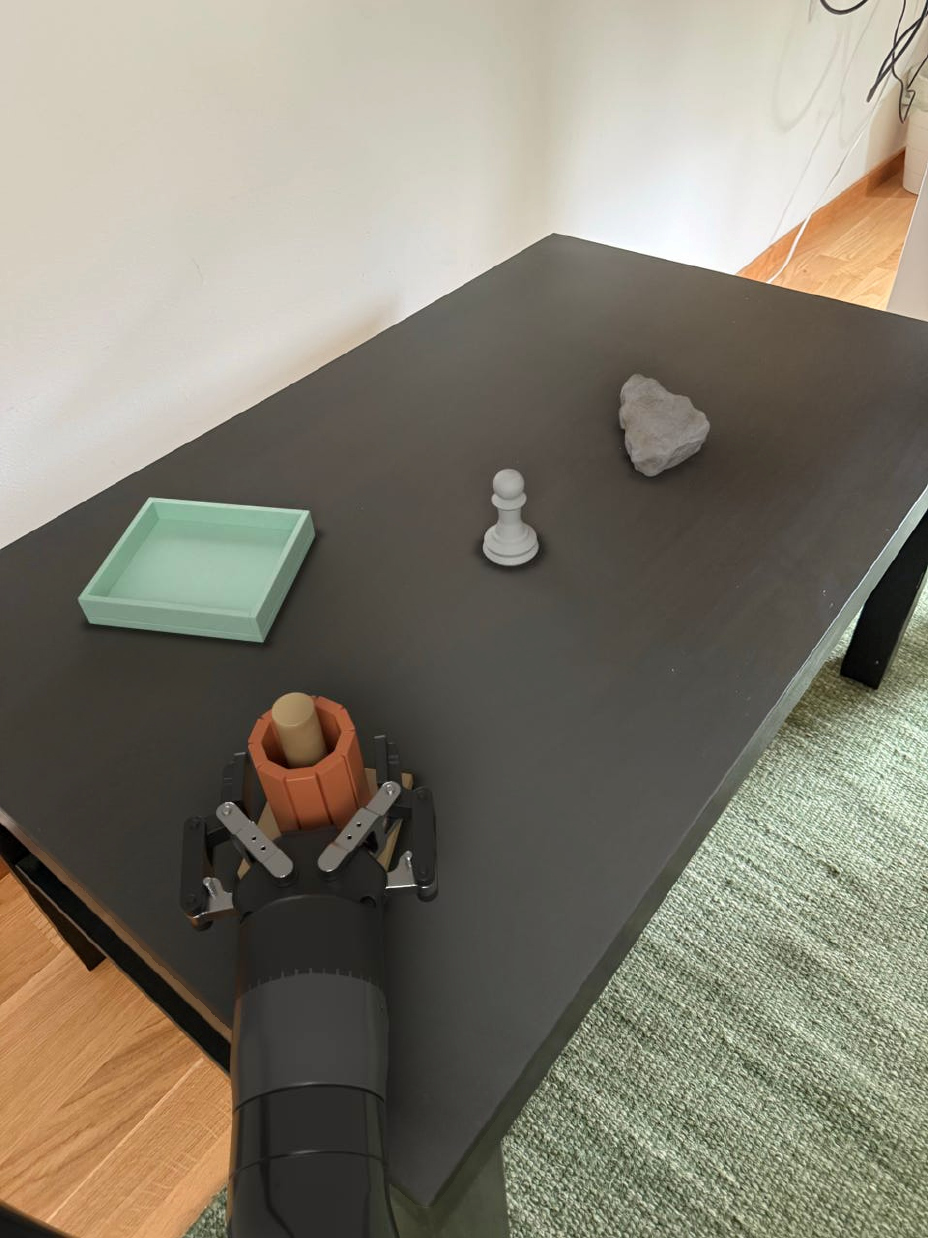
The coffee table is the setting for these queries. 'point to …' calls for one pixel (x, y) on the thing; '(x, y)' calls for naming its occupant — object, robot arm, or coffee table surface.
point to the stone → (659, 425)
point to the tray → (200, 569)
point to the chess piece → (509, 523)
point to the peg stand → (310, 759)
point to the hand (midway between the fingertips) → (312, 751)
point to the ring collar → (312, 773)
